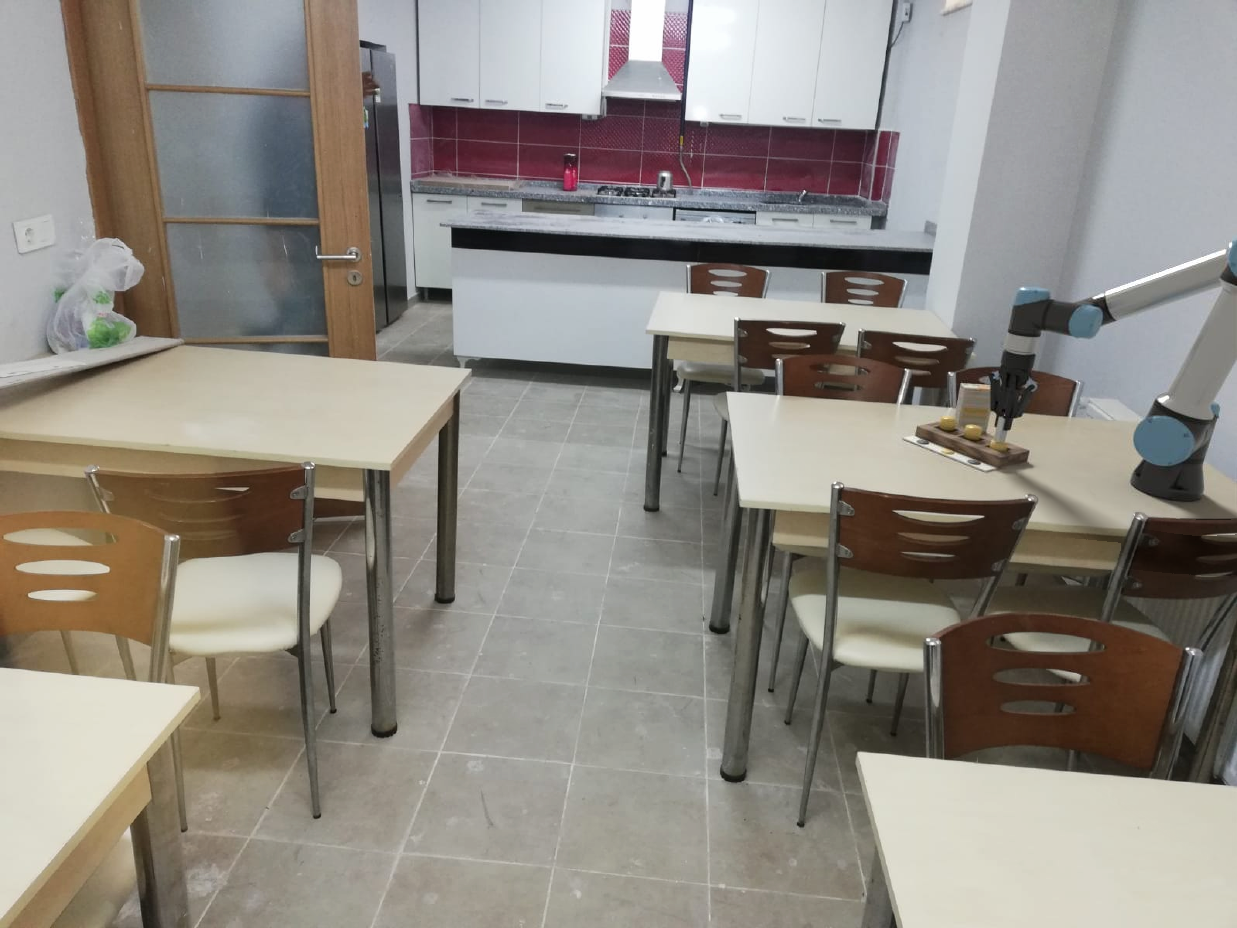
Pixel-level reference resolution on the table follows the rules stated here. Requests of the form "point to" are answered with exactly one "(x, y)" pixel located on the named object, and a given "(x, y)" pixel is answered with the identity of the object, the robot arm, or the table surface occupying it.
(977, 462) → the card
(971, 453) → the board
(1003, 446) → the button
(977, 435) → the button mid
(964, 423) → the supplement box
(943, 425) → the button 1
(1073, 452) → the table surface
